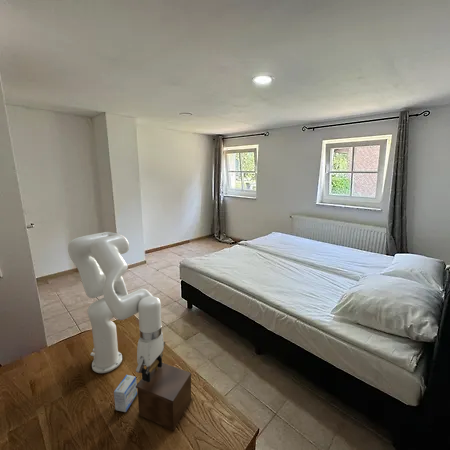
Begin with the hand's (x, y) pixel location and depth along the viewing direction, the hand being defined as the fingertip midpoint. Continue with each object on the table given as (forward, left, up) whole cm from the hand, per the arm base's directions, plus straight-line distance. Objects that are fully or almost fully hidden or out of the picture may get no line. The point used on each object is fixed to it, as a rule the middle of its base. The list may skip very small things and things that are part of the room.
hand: (152, 372), depth 92 cm
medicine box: (-9, -4, -14) cm, 17 cm away
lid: (+5, 0, -2) cm, 5 cm away
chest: (+6, 0, -14) cm, 15 cm away
